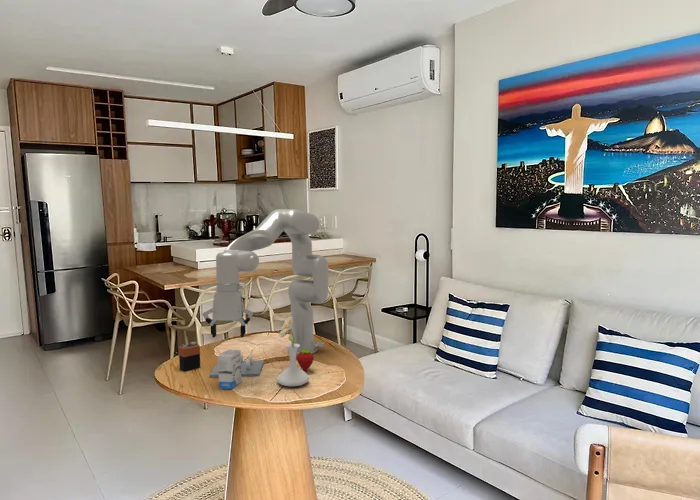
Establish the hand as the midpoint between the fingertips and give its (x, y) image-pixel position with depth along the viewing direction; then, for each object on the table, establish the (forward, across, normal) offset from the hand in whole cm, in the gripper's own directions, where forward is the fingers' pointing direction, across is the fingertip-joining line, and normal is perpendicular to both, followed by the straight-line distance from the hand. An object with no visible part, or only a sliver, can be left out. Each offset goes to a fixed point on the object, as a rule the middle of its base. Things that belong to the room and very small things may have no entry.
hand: (228, 336), depth 168 cm
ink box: (+18, 0, -1) cm, 18 cm away
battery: (+18, +19, -20) cm, 32 cm away
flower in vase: (+18, -22, 0) cm, 28 cm away
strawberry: (+17, -26, -13) cm, 34 cm away
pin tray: (+17, 0, -17) cm, 24 cm away
